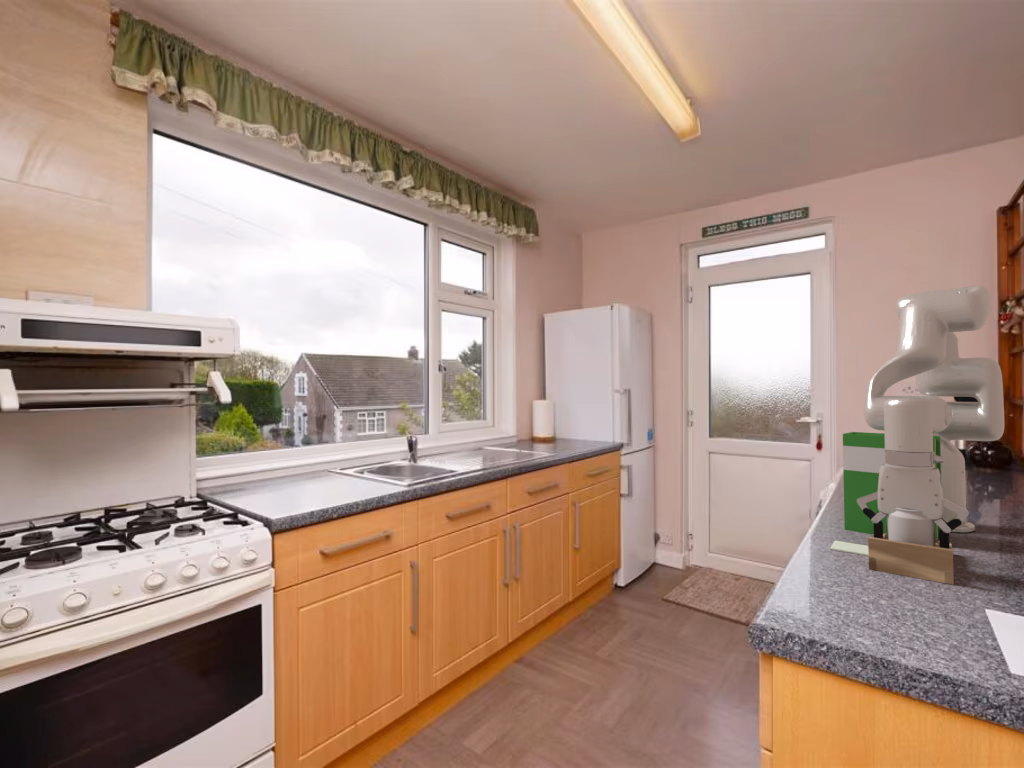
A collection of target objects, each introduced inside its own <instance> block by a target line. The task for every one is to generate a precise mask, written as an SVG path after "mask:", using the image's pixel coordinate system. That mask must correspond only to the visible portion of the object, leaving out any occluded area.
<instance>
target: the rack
mask: <svg viewBox="0 0 1024 768" xmlns="http://www.w3.org/2000/svg"><path fill="white" fill-rule="evenodd" d="M867 539H868V541H867V543H868V545H867V546H868V553H869V556H868V569H869V570H872V571H878V572H883V573H888V574H894V575H899V576H905V577H911V578H915V579H921V580H927V581H930V582H931V581H932V582H937V583H943V584H949V585H952V586H953V585H955V583H954V579H955V577H954V549H953V545H952V543H953V542H949V549H946V548H940V543H939V540H938V547H933V546H926V545H919V544H913V543H906V542H900V541H893V540H887V534H886V533H883V539H880V538H874V536H873V537H872V536H869V537H868V538H867Z"/></svg>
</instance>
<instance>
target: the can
mask: <svg viewBox="0 0 1024 768" xmlns="http://www.w3.org/2000/svg"><path fill="white" fill-rule="evenodd" d="M895 509H897V511H895V512H893V513H891V514H889V515H886V523H887V540H893V541H900V542H906V543H913V544H919V545H926V546H933V547H935V522H934V521H932V520H930V519H929V518H928V517H926V516H924V515H923V514H922V512H923V511H919V510H907V509H901V508H895Z"/></svg>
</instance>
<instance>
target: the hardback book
mask: <svg viewBox="0 0 1024 768" xmlns="http://www.w3.org/2000/svg"><path fill="white" fill-rule="evenodd" d="M933 454H935V455H938V456H941V447H940V436H933ZM842 459H843V460H842V462H843V463H842V464H843V465H842V467H843V468H842V469H843V471H842V472H843V506H844V508H843V512H844V514H843V516H844V520H843V521H844V530H845V531H850V532H856V533H862V534H867V535H872V534H873V536H874V523H873V522H872V520H871V519H870V518H868V517H867V516H866V515H865V514H864V513H863V511H862V509H861V508H860V506H859V505H858V503H857V499H858V498H860V497H863V496H866V495H869V494H872V493H875V492H878V480H879V472H880V467H881V464H885V437H884V433H883V432H882V433H879V432H858V431H850V432H844V433H842ZM933 466H934V467H935V468H938V469H939V472H940V476H941V463H935V464H933ZM867 505H868V507H869V508H870V509H871V510H872V511H873V512H874V513H875V514H876V513H877V512H878V511H879V510H878V504H877V499H876V500H873V501H870V502H867ZM882 522H883V533H886V534H887V523H886V516H885V517H884V518H883V519H882ZM939 530H941V528H940V527H939V526H938V525H937V524H936V523H935V537H936V538H938V540H939Z"/></svg>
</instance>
